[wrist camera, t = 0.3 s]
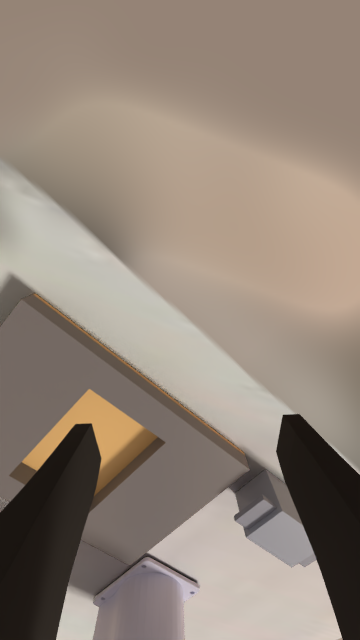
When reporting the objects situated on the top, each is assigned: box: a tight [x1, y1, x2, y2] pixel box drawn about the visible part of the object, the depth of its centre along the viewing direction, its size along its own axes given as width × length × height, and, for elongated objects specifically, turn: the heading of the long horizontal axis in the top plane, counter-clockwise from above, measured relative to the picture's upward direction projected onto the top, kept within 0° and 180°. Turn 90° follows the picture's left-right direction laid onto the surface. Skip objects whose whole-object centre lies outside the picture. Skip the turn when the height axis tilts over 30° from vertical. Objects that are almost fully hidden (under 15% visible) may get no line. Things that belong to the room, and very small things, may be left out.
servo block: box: [234, 469, 317, 567], centre depth 23 cm, size 4×9×4 cm, turn 47°
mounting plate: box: [0, 294, 250, 566], centre depth 22 cm, size 16×22×2 cm
